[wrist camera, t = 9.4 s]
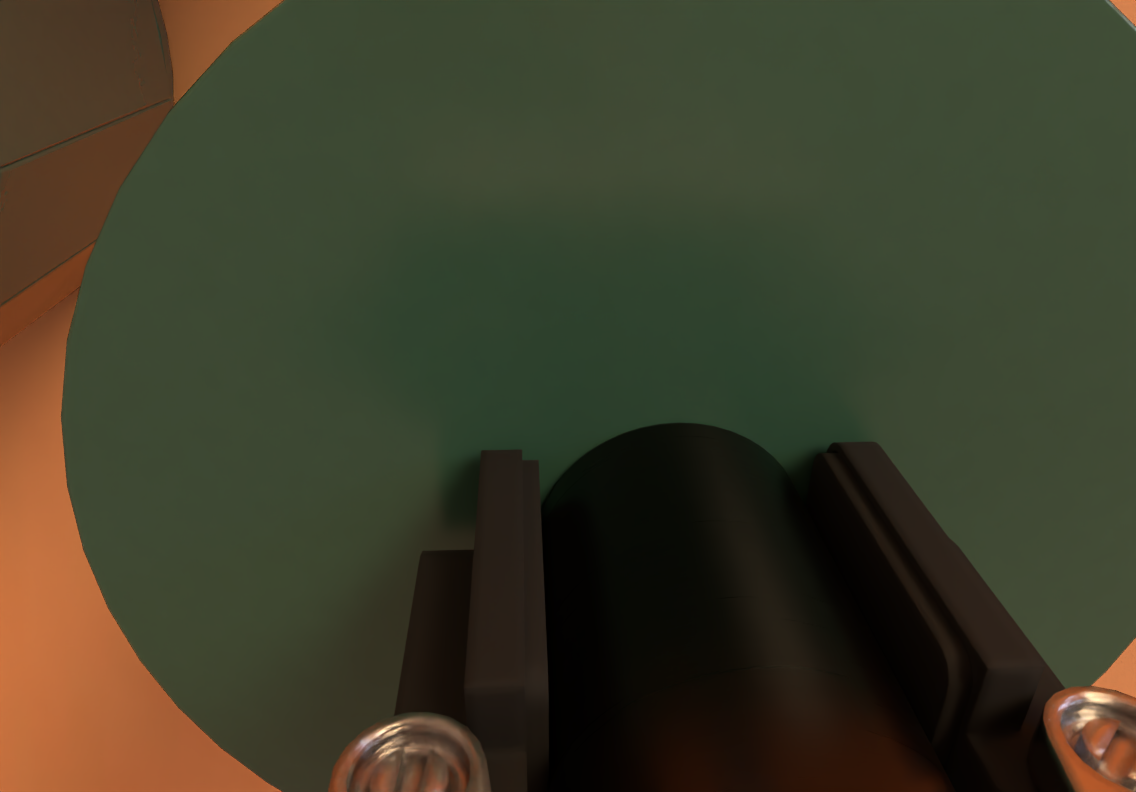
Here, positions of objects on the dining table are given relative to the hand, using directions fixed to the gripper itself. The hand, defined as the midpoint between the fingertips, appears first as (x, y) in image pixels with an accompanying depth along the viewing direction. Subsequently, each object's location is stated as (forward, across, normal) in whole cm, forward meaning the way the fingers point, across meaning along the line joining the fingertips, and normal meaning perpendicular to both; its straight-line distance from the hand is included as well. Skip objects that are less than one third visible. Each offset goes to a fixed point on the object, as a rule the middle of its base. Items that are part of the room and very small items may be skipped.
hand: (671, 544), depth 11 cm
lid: (+1, 0, 0) cm, 1 cm away
